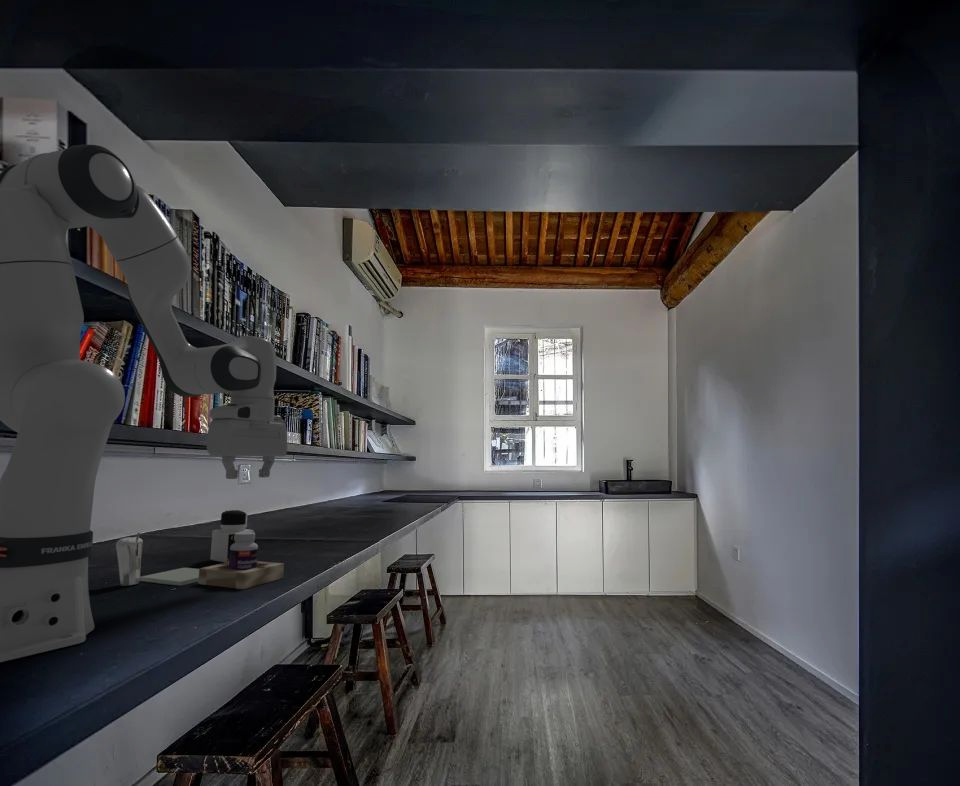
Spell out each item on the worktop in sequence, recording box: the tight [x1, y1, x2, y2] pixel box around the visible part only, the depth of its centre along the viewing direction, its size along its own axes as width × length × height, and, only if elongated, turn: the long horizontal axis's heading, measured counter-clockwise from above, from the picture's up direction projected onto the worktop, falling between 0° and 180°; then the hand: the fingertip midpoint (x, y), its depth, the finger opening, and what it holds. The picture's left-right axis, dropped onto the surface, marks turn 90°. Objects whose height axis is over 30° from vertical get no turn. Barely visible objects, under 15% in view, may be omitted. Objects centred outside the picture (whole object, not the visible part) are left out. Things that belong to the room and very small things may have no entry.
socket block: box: [197, 560, 285, 590], centre depth 118 cm, size 12×12×3 cm
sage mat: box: [140, 567, 199, 587], centre depth 119 cm, size 11×11×1 cm
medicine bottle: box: [209, 509, 255, 563], centre depth 142 cm, size 7×7×12 cm
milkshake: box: [115, 532, 144, 587], centre depth 113 cm, size 5×5×10 cm
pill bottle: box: [229, 531, 259, 571], centre depth 118 cm, size 5×5×10 cm
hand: (248, 478), depth 120 cm, fingers open, 8 cm apart
